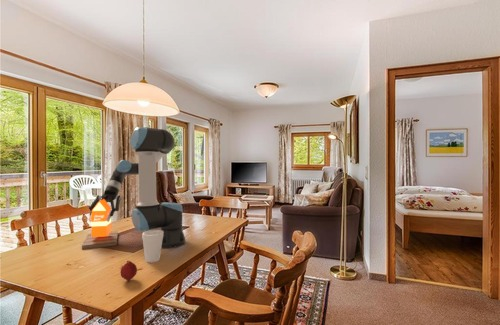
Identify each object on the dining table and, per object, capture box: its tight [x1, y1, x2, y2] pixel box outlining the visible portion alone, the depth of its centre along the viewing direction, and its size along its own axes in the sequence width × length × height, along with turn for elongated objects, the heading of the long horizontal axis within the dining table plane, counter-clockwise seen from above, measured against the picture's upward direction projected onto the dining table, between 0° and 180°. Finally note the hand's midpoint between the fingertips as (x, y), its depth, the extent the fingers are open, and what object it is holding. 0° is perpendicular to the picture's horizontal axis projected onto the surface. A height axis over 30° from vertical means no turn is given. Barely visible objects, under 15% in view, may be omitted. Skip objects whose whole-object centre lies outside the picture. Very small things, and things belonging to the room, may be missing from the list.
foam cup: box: [141, 229, 164, 263], centre depth 119 cm, size 10×9×13 cm
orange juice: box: [90, 199, 112, 237], centre depth 144 cm, size 8×9×20 cm
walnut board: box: [81, 230, 119, 250], centre depth 144 cm, size 22×16×2 cm
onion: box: [120, 260, 138, 282], centre depth 98 cm, size 6×6×8 cm
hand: (98, 220), depth 141 cm, fingers closed on orange juice, 9 cm apart
